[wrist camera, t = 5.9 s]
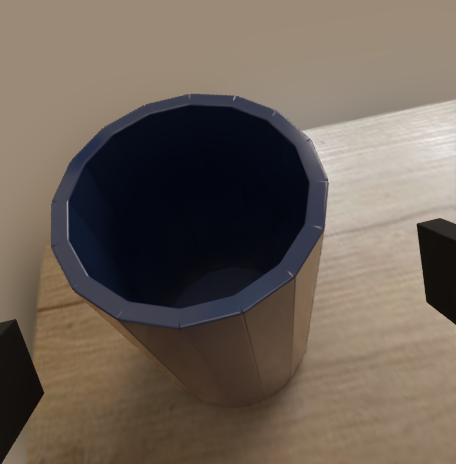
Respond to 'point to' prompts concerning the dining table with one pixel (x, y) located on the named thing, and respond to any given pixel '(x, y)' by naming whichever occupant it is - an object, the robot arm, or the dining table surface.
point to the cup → (199, 240)
